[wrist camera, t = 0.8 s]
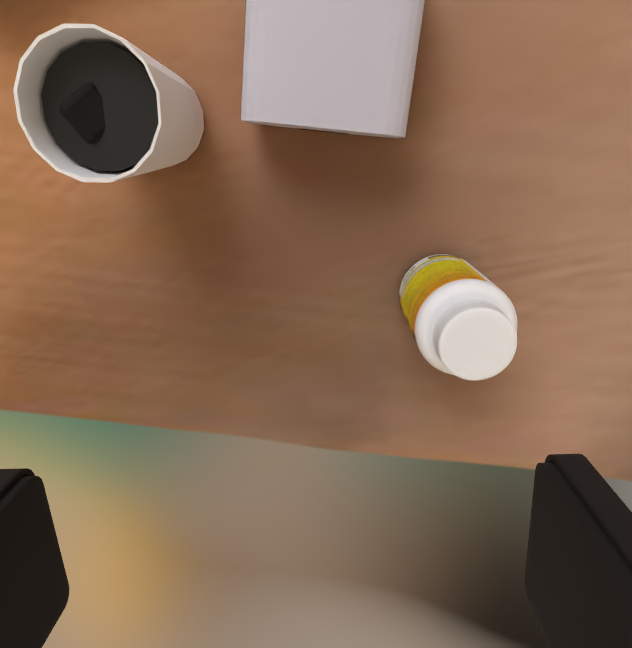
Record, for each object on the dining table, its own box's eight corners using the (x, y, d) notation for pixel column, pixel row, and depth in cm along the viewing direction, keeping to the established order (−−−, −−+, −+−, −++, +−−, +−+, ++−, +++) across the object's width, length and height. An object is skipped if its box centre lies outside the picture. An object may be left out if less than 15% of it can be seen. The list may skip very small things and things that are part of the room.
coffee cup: (150, 194, 34) (80, 211, 25) (84, 101, 32) (-18, 82, 23) (232, 136, 33) (191, 130, 23) (168, 37, 31) (96, -13, 22)
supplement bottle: (381, 300, 36) (399, 355, 26) (433, 235, 34) (473, 269, 25) (442, 345, 37) (482, 414, 27) (496, 284, 35) (558, 334, 26)
